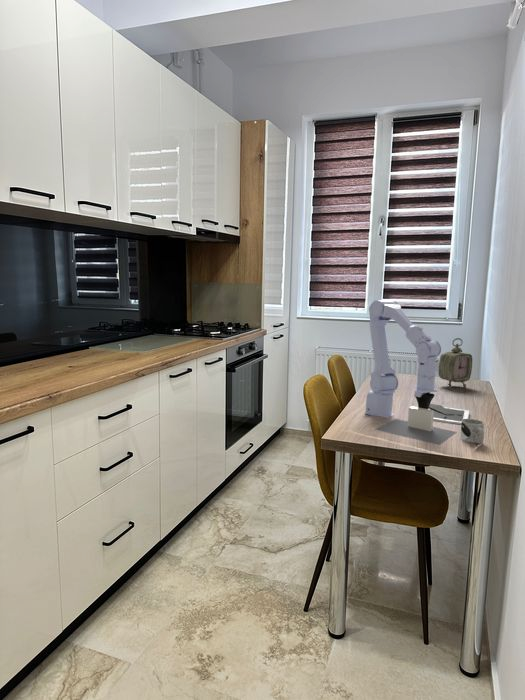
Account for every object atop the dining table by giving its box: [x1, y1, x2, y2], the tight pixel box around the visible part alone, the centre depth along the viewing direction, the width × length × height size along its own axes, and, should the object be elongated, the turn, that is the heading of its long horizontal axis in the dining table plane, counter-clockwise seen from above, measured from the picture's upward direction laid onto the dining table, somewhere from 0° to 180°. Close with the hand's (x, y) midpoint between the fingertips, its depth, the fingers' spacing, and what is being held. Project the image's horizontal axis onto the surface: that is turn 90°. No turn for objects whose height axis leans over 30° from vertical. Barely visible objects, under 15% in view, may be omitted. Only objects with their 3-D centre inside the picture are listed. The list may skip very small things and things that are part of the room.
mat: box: [374, 418, 458, 446], centre depth 164 cm, size 22×18×1 cm
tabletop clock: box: [438, 337, 473, 389], centre depth 240 cm, size 14×9×25 cm, turn 118°
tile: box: [407, 405, 434, 431], centre depth 166 cm, size 8×2×7 cm, turn 51°
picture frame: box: [428, 403, 470, 426], centre depth 185 cm, size 16×3×21 cm
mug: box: [459, 418, 485, 445], centre depth 155 cm, size 10×7×7 cm
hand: (422, 413), depth 167 cm, fingers closed
